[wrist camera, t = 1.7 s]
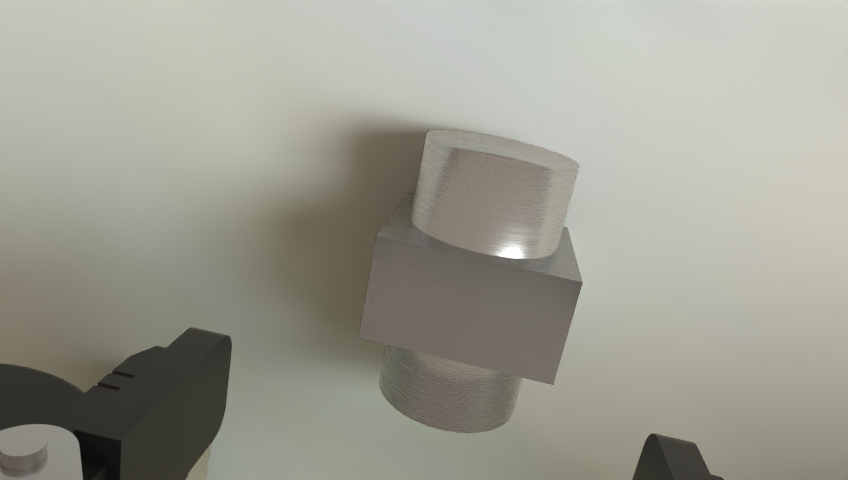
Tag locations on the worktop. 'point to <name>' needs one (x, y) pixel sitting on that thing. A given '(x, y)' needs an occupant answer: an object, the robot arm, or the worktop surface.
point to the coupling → (473, 280)
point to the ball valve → (49, 403)
